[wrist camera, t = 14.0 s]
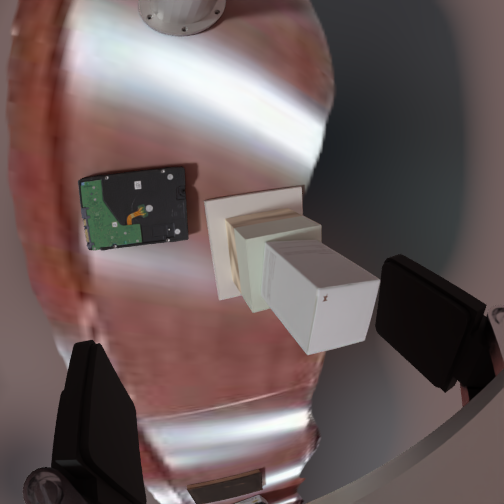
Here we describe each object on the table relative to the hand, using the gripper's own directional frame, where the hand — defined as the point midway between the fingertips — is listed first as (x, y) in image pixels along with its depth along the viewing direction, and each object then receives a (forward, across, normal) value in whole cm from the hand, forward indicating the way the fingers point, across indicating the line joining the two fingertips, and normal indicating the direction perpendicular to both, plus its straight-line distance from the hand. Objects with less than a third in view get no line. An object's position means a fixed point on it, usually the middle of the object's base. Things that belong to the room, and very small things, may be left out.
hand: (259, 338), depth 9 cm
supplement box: (+25, -11, +12) cm, 30 cm away
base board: (+35, -11, +12) cm, 39 cm away
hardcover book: (+34, +9, +90) cm, 97 cm away
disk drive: (+36, +6, +3) cm, 37 cm away
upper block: (+29, -11, +12) cm, 34 cm away
